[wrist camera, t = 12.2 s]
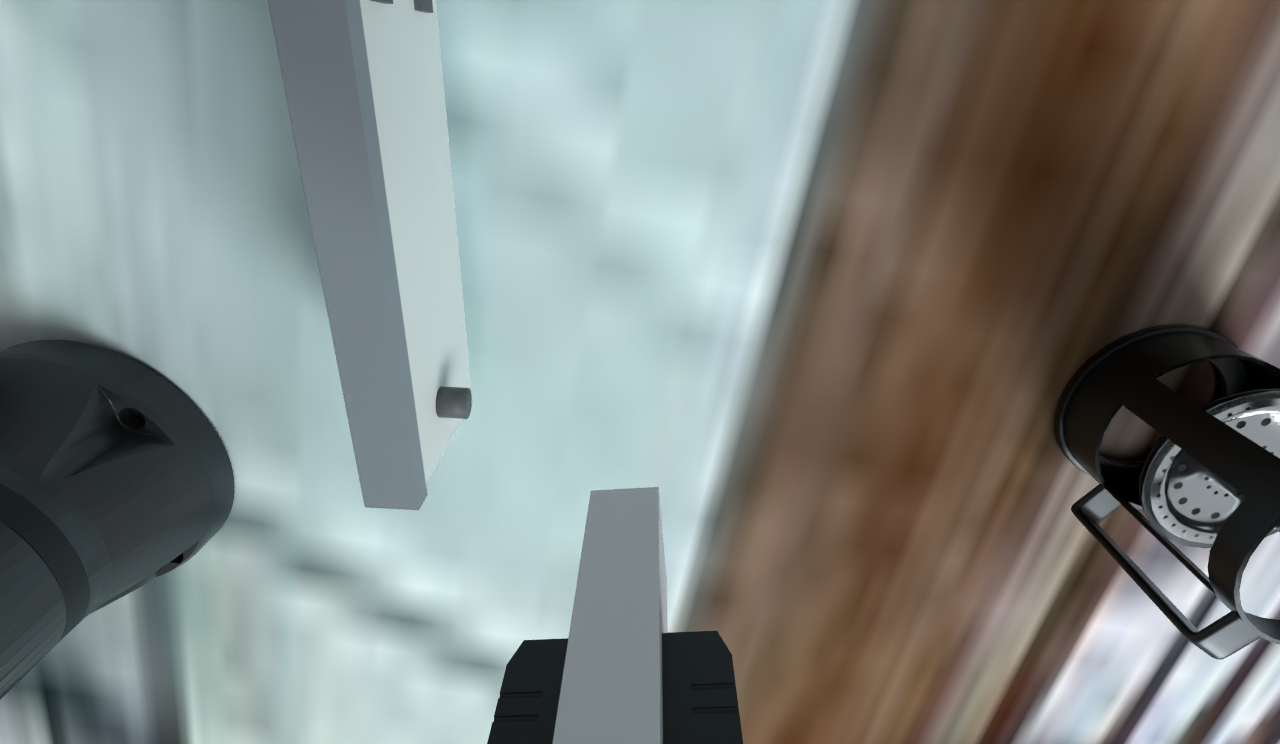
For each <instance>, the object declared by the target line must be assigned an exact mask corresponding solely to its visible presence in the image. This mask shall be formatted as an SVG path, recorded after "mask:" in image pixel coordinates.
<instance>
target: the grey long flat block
mask: <svg viewBox="0 0 1280 744" xmlns="http://www.w3.org/2000/svg"><path fill="white" fill-rule="evenodd" d="M268 4H269V9H270V14H271V19H272V25H273V30H274V35H275V40H276V46H277V51H278V56H279V61H280V66H281V72H282V77H283V82H284V87H285V93H286V98H287V103H288V108H289V113H290V119H291V124H292V129H293V134H294V140H295V145H296V150H297V155H298V160H299V166H300V171H301V176H302V181H303V187H304V192H305V197H306V202H307V207H308V213H309V218H310V223H311V228H312V234H313V239H314V244H315V249H316V254H317V260H318V265H319V270H320V275H321V281H322V286H323V291H324V296H325V301H326V307H327V312H328V317H329V322H330V328H331V333H332V338H333V343H334V348H335V354H336V359H337V364H338V369H339V375H340V380H341V385H342V390H343V395H344V401H345V406H346V411H347V416H348V422H349V427H350V432H351V437H352V442H353V448H354V453H355V458H356V463H357V469H358V474H359V479H360V484H361V489H362V495H363V500H364V505H365V507H370V508H389V509H408V510H419V509H420V507H421V505H422V504H423V502H424V500H425V498H426V496H427V489H426V484H427V482H428V480H429V478H430V477H431V475H432V473H433V471H434V470H435V468H436V466H437V464H438V463H439V461H440V459H441V457H442V456H443V454H444V452H445V450H446V449H447V447H448V445H449V443H450V442H451V440H452V438H453V436H454V435H455V433H456V431H457V429H458V428H459V426H460V424H461V422H462V421H463V419H467V418H468V417H469V415H470V412H471V405H472V403H473V401H472V390H471V379H470V368H469V357H468V346H467V335H466V324H465V313H464V302H463V291H462V280H461V269H460V258H459V247H458V236H457V225H456V214H455V203H454V192H453V181H452V170H451V159H450V148H449V137H448V126H447V115H446V104H445V93H444V82H443V71H442V60H441V49H440V38H439V27H438V16H437V5H436V0H268Z"/></svg>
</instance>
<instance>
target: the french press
mask: <svg viewBox="0 0 1280 744" xmlns="http://www.w3.org/2000/svg"><path fill="white" fill-rule="evenodd" d="M1205 360H1209V361H1210V362H1211V363H1212V364H1213V366H1214V367H1215V368H1216V369H1217V372H1218V374H1219V376H1220V380H1221V388H1222V390H1221V397H1220V399H1217V400H1214V401H1212V402H1210V403H1208V404H1205V405H1203V406H1201V407H1199V406H1197V405H1195V404H1194V403H1192V402H1191V401H1189V400H1188V399H1186V398H1184V397H1183V396H1181V395H1180V394H1178V393H1177V392H1175V391H1174V390H1172V389H1170V388H1169V387H1167V386H1166V385H1164V384H1163V383H1161V382H1160V381H1158V380H1156V378H1158V377H1160V376H1162V375H1164V374H1166V373H1167V372H1169V371H1171V370H1174V369H1176V368H1179V367H1182V366H1185V365H1188V364H1191V363H1195V362H1200V361H1205ZM1122 405H1123V406H1125V407H1126V408H1127V409H1129V410H1130V411H1131V412H1133V413H1134V414H1135V415H1137V416H1138V417H1139V418H1141V419H1142V420H1143V421H1145V422H1146V423H1147V424H1149V425H1150V426H1151V427H1153V428H1154V429H1155V430H1157V431H1158V432H1159V433H1161V434H1162V437H1161V438H1160V439H1159V440H1158V442H1157V443H1156V444H1155V446H1154V447H1153V448H1152V450H1151V452H1150V453H1149V455H1148V457H1147V459H1146V460H1145V461H1140V462H1122V461H1115V460H1112V459H1109V458H1106V457H1103V456H1102V455H1100V454H1099V448H1100V445H1101V441H1102V438H1103V435H1104V432H1105V430H1106V428H1107V427H1108V425H1109V423H1110V421H1111V419H1112V418H1113V416H1114V415H1115V414H1116V413H1117V411H1118V410H1119V409H1120V408H1121V406H1122ZM1055 433H1056V437H1057V442H1058V445H1059V446H1060V448H1061V450H1062V452H1063V453H1064V455H1065V456H1066V457H1067V458H1068V459H1069V460H1070V461H1071V462H1072V463H1073V464H1074V465H1075V466H1076V467H1077V468H1078V469H1080V470H1081V471H1083V472H1085V473H1086V474H1088V475H1090V476H1092V477H1093V478H1094V479H1095V480H1096V481H1097V482H1098V483H1099V485H1098V486H1096V487H1095V488H1094V489H1093V490H1091V491H1090V492H1089V493H1087V494H1086V495H1085V496H1083V497H1082V498H1081V499H1079V500H1078V501H1077V502H1076V503H1074V504H1073V505H1072V507H1071V510H1072V512H1073V514H1074V515H1075V516H1076V517H1077V519H1078V520H1079V521H1080V522H1081V523H1082V524H1083V525H1084V526H1085V527H1086V528H1087V530H1088V531H1089V532H1090V533H1091V534H1092V535H1093V536H1094V537H1095V538H1096V539H1097V541H1098V542H1099V543H1100V544H1101V545H1102V546H1103V547H1104V548H1105V549H1106V550H1107V552H1108V553H1109V554H1110V555H1111V556H1112V557H1113V558H1114V559H1115V560H1116V561H1117V563H1118V564H1119V565H1120V566H1121V567H1122V568H1123V569H1124V570H1125V571H1126V572H1127V574H1128V575H1129V576H1130V577H1131V578H1132V579H1133V580H1134V581H1135V582H1136V583H1137V585H1138V586H1139V587H1140V588H1141V589H1142V590H1143V591H1144V592H1145V593H1146V594H1147V596H1148V597H1149V598H1150V599H1151V600H1152V601H1153V602H1154V603H1155V604H1156V605H1157V607H1158V608H1159V609H1160V610H1161V611H1162V612H1163V613H1164V614H1165V615H1166V616H1167V618H1168V619H1169V620H1170V621H1171V622H1172V623H1173V624H1174V625H1175V626H1176V627H1177V629H1178V630H1179V631H1180V632H1181V633H1182V634H1183V635H1184V636H1185V637H1186V638H1187V639H1188V640H1189V641H1190V642H1192V643H1193V644H1195V645H1196V646H1197V647H1199V648H1200V649H1201V650H1203V651H1204V652H1206V653H1207V654H1208V655H1210V656H1211V657H1213V658H1215V659H1224V658H1226V657H1228V656H1230V655H1232V654H1233V653H1235V652H1237V651H1238V650H1240V649H1242V648H1244V647H1245V646H1247V645H1249V644H1250V643H1252V642H1254V641H1255V640H1257V639H1259V638H1260V637H1263V638H1264V639H1266V640H1268V641H1271V642H1274V643H1277V644H1280V620H1275V619H1267V618H1261V617H1258V616H1255V615H1252V614H1249V613H1246V612H1245V611H1243V609H1242V607H1241V601H1240V593H1239V589H1240V584H1241V578H1242V574H1243V571H1244V569H1245V567H1246V565H1247V563H1248V561H1249V558H1250V556H1251V555H1252V554H1253V552H1254V551H1255V549H1256V548H1257V547H1258V545H1259V544H1260V543H1261V541H1262V540H1263V539H1264V538H1265V537H1267V536H1269V535H1271V534H1274V533H1276V532H1278V531H1279V532H1280V369H1279V368H1277V367H1275V366H1273V365H1271V364H1269V363H1267V362H1265V361H1263V360H1260V359H1258V358H1256V357H1254V356H1252V355H1250V354H1248V353H1246V352H1244V351H1242V350H1240V349H1238V347H1237V346H1236V345H1235V344H1234V343H1233V342H1231V341H1230V340H1228V339H1227V338H1226V337H1224V336H1223V335H1221V334H1219V333H1217V332H1214V331H1211V330H1209V329H1206V328H1203V327H1198V326H1191V325H1184V324H1179V325H1162V326H1157V327H1152V328H1147V329H1143V330H1140V331H1138V332H1135V333H1132V334H1130V335H1127V336H1124V337H1122V338H1121V339H1119V340H1117V341H1115V342H1113V343H1111V344H1109V345H1108V346H1106V347H1105V348H1103V349H1102V350H1101V351H1099V352H1098V353H1096V354H1095V355H1094V356H1092V357H1091V358H1090V359H1089V360H1088V361H1087V362H1086V363H1085V364H1084V365H1083V366H1082V367H1081V368H1080V369H1079V370H1078V371H1077V372H1076V373H1075V375H1074V376H1073V377H1072V379H1071V380H1070V381H1069V383H1068V384H1067V386H1066V387H1065V389H1064V391H1063V393H1062V396H1061V398H1060V400H1059V402H1058V406H1057V410H1056V414H1055ZM1120 506H1123V507H1124V508H1125V509H1126V510H1127V511H1128V512H1129V513H1130V514H1132V515H1133V516H1134V517H1135V518H1136V519H1137V520H1138V521H1139V522H1140V523H1141V524H1142V525H1143V526H1144V527H1145V528H1146V529H1147V530H1148V531H1149V532H1150V533H1151V534H1152V535H1153V536H1154V537H1155V538H1156V539H1157V540H1158V541H1159V542H1161V543H1162V544H1163V545H1164V546H1165V547H1166V548H1167V549H1168V550H1169V551H1170V552H1171V553H1172V554H1173V555H1174V556H1175V557H1176V558H1177V559H1178V560H1179V561H1180V562H1181V563H1182V564H1183V565H1184V566H1185V567H1186V568H1187V569H1189V570H1190V571H1191V572H1192V573H1193V574H1194V575H1195V576H1196V577H1197V578H1198V579H1199V580H1200V581H1201V582H1202V583H1203V584H1204V585H1205V586H1206V587H1207V588H1208V589H1209V590H1210V591H1211V592H1212V593H1213V594H1214V595H1215V596H1217V597H1218V598H1219V599H1220V600H1221V601H1222V602H1223V603H1224V604H1225V605H1226V606H1227V607H1228V608H1229V609H1230V610H1231V612H1230V613H1228V614H1226V615H1225V616H1223V617H1222V618H1220V619H1218V620H1217V621H1215V622H1214V623H1212V624H1210V625H1209V626H1207V627H1206V628H1204V629H1202V630H1201V631H1198V630H1197V629H1196V628H1195V627H1194V626H1193V625H1192V623H1191V622H1190V621H1189V620H1188V619H1187V618H1186V617H1185V616H1184V615H1183V614H1182V613H1181V612H1180V611H1179V610H1178V609H1177V608H1176V606H1175V605H1174V604H1173V603H1172V602H1171V601H1170V600H1169V599H1168V598H1167V597H1166V596H1165V595H1164V594H1163V593H1162V592H1161V591H1160V589H1159V588H1158V587H1157V586H1156V585H1155V584H1154V583H1153V582H1152V581H1151V580H1150V579H1149V578H1148V577H1147V576H1146V575H1145V574H1144V572H1143V571H1142V570H1141V569H1140V568H1139V567H1138V566H1137V565H1136V564H1135V563H1134V562H1133V561H1132V560H1131V559H1130V558H1129V557H1128V556H1127V554H1126V553H1125V552H1124V551H1123V550H1122V549H1121V548H1120V547H1119V546H1118V545H1117V544H1116V543H1115V542H1114V541H1113V540H1112V539H1111V537H1110V536H1109V535H1108V534H1107V533H1106V532H1105V531H1104V530H1103V529H1102V528H1101V527H1100V526H1099V523H1100V521H1101V520H1103V519H1104V518H1105V517H1107V516H1108V515H1109V514H1111V513H1112V512H1113V511H1115V510H1116V509H1118V508H1119V507H1120ZM1134 507H1135V508H1138V509H1142V510H1143V511H1144V513H1145V514H1146V516H1147V518H1148V520H1149V521H1148V520H1147V519H1146V518H1145V517H1144V516H1143V515H1142V514H1141V513H1140V512H1139V511H1138V510H1136V509H1135V508H1134ZM1166 537H1167V538H1168V539H1170V540H1172V541H1174V542H1177V543H1180V544H1183V545H1187V546H1193V547H1201V548H1211V550H1210V555H1209V562H1208V573H1209V577H1207V576H1206V575H1205V574H1204V573H1203V572H1202V571H1201V570H1200V569H1199V568H1198V567H1197V566H1196V565H1195V564H1194V563H1193V562H1192V561H1190V560H1189V559H1188V558H1187V557H1186V556H1185V555H1184V554H1183V553H1182V552H1181V551H1180V550H1179V549H1178V548H1177V547H1176V546H1175V545H1174V544H1172V543H1171V542H1170V541H1169V540H1168V539H1167V538H1166Z"/></svg>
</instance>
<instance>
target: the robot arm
mask: <svg viewBox="0 0 1280 744" xmlns="http://www.w3.org/2000/svg"><path fill="white" fill-rule="evenodd" d="M233 500H234V476H233V471H232V467H231V463H230V460H229V457H228V454H227V452H226V450H225V447H224V445H223V443H222V441H221V439H220V438H219V436H218V434H217V433H216V431H215V429H214V428H213V427H212V425H211V424H210V422H209V421H208V420H207V418H206V417H205V416H204V415H203V413H202V412H201V411H200V410H199V409H198V408H197V407H196V406H195V405H194V404H193V403H192V402H191V401H190V400H189V399H188V398H187V397H186V396H185V395H184V394H183V393H182V392H181V391H179V390H178V389H177V388H176V387H175V386H173V385H172V384H171V383H169V382H168V381H167V380H165V379H164V378H163V377H161V376H160V375H158V374H156V373H155V372H153V371H152V370H150V369H148V368H147V367H145V366H143V365H141V364H139V363H137V362H136V361H134V360H132V359H129V358H127V357H125V356H123V355H120V354H118V353H115V352H113V351H110V350H107V349H104V348H101V347H97V346H93V345H89V344H84V343H79V342H73V341H63V340H42V341H34V342H28V343H23V344H20V345H17V346H14V347H11V348H9V349H6V350H4V351H2V352H0V699H1V698H2V697H3V696H4V695H5V694H6V693H7V692H8V691H9V690H10V689H11V688H12V687H13V686H14V685H16V684H17V683H18V682H19V681H20V680H21V679H22V678H23V677H24V676H25V675H26V674H27V673H28V672H29V671H30V670H31V669H32V668H33V667H34V666H35V665H36V664H37V663H38V662H39V661H40V660H41V659H42V658H43V657H44V656H45V655H46V654H47V653H48V652H49V651H50V650H51V649H52V648H53V647H54V646H55V645H56V644H57V643H58V642H59V641H61V640H62V639H63V638H64V637H65V636H66V635H67V634H68V633H69V632H70V631H71V630H72V629H73V628H74V627H75V626H77V625H78V624H79V623H80V622H81V621H82V620H83V619H84V618H85V617H86V616H88V615H89V614H91V613H93V612H95V611H96V610H98V609H100V608H102V607H104V606H106V605H108V604H110V603H111V602H113V601H115V600H117V599H119V598H121V597H123V596H125V595H126V594H128V593H130V592H132V591H134V590H136V589H137V588H139V587H141V586H143V585H144V584H146V583H148V582H149V581H151V580H152V579H154V578H155V577H157V576H160V575H163V574H165V573H167V572H169V571H171V570H173V569H175V568H177V567H179V566H180V565H182V564H183V563H185V562H186V561H188V560H189V559H190V558H192V557H193V556H194V555H195V554H196V553H197V552H198V551H199V550H200V549H201V548H202V547H203V546H204V545H205V544H206V543H207V542H208V541H209V540H210V539H211V538H212V537H213V536H214V535H215V534H216V533H217V532H218V531H219V530H220V528H221V527H222V526H223V524H224V523H225V521H226V520H227V518H228V516H229V514H230V511H231V508H232V504H233ZM487 744H743V739H742V731H741V724H740V716H739V710H738V700H737V692H736V686H735V677H734V669H733V661H732V654H731V653H730V651H729V649H728V648H727V646H726V645H725V643H724V641H723V640H722V638H721V637H720V635H719V633H718V632H717V631H700V632H676V633H668V631H667V583H666V569H665V558H664V546H663V534H662V522H661V510H660V498H659V487H652V488H634V489H615V490H597V491H591V494H590V501H589V507H588V514H587V520H586V527H585V533H584V540H583V547H582V553H581V560H580V566H579V573H578V579H577V586H576V593H575V599H574V606H573V612H572V619H571V625H570V632H569V639H545V640H524V641H523V642H522V644H521V645H520V647H519V648H518V650H517V651H516V653H515V654H514V655H513V657H512V658H511V660H510V661H509V663H508V664H507V666H506V670H505V674H504V678H503V682H502V686H501V690H500V698H499V699H498V703H497V707H496V711H495V715H494V722H493V723H492V727H491V731H490V735H489V739H488V743H487Z"/></svg>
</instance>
